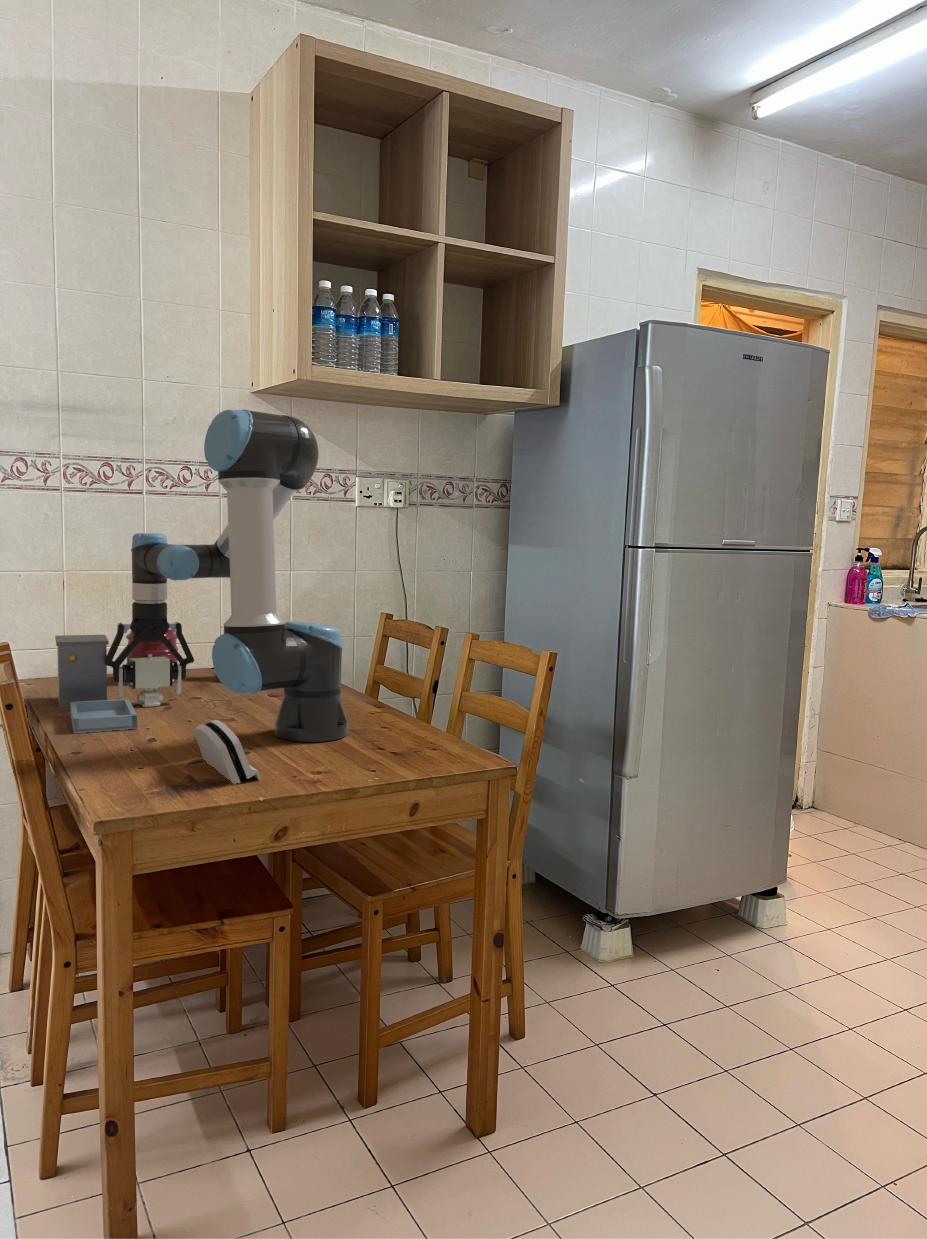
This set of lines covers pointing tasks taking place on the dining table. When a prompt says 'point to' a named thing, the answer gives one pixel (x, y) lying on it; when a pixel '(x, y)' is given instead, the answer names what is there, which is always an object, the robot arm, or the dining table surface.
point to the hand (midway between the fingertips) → (150, 694)
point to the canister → (153, 647)
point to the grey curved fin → (224, 751)
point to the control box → (81, 668)
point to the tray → (102, 715)
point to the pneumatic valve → (150, 677)
